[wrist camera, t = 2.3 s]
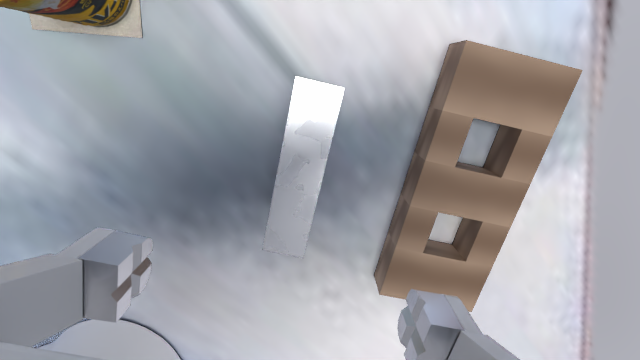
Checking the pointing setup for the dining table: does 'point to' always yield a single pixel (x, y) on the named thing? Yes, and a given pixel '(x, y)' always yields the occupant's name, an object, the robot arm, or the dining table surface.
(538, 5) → the dining table surface
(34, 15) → the condiment
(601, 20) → the dining table surface
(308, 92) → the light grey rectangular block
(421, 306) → the robot arm
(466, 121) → the brown wooden block
